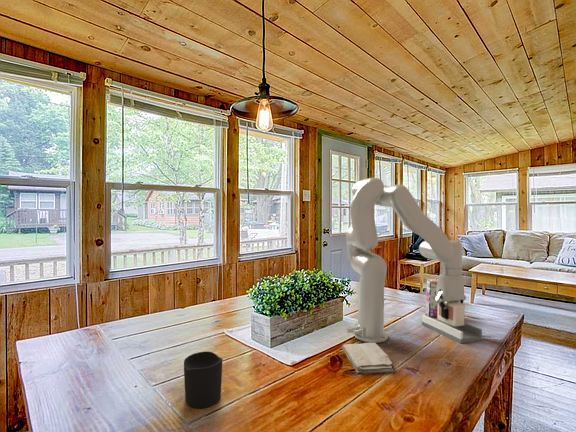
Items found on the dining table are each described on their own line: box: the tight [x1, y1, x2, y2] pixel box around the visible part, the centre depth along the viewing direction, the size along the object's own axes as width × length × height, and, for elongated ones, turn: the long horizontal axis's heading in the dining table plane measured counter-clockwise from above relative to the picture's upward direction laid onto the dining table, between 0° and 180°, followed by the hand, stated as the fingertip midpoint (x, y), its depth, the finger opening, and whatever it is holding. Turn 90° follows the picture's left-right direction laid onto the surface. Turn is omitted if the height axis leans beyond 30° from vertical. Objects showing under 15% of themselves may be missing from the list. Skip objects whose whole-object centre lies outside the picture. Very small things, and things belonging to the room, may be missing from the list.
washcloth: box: [341, 342, 394, 374], centre depth 105 cm, size 12×18×3 cm, turn 7°
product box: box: [436, 301, 465, 326], centre depth 129 cm, size 9×5×8 cm, turn 18°
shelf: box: [421, 314, 483, 344], centre depth 129 cm, size 20×10×4 cm, turn 18°
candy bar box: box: [425, 278, 438, 318], centre depth 149 cm, size 11×5×16 cm, turn 84°
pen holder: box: [183, 350, 223, 409], centre depth 82 cm, size 9×9×10 cm
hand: (450, 317), depth 129 cm, fingers closed on product box, 4 cm apart
